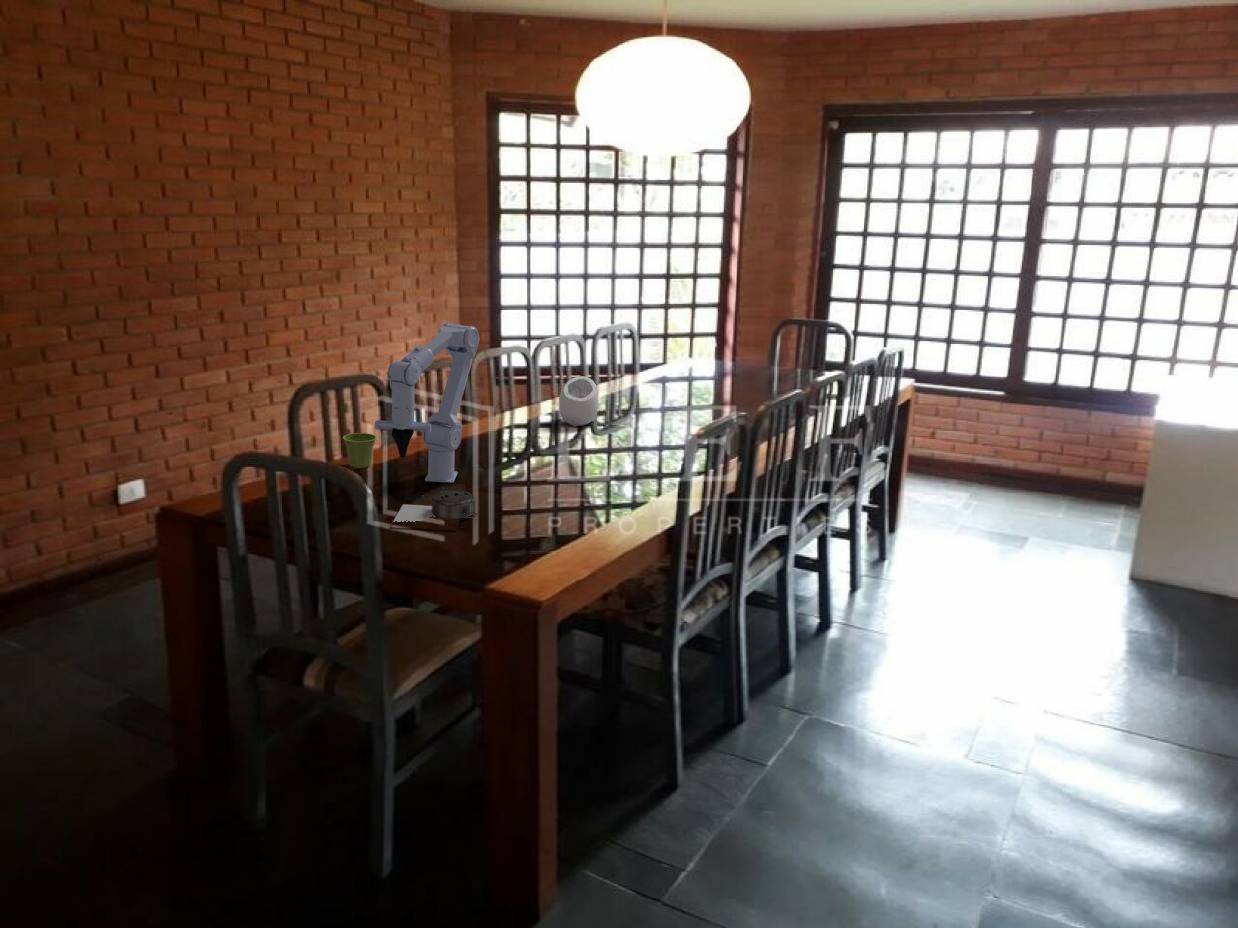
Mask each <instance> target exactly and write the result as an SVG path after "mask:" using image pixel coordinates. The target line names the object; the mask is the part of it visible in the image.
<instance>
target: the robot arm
mask: <svg viewBox="0 0 1238 928" xmlns="http://www.w3.org/2000/svg"><path fill="white" fill-rule="evenodd" d="M480 340H481V338H480V334H479V330H478V329H477V328H476V327H475V326H474V325H473V326H472V325H471V326H470V325H462V324H457V323H451V322H444V323H443V324H442V325H441V326H439V327H438V332H437V334H436V335H435V336H434V337H433V338H432V339H431V340H430V341H429V342H428V343H427V344H426V345H425V346H421V345H420V346H418V345H417V346H415V347H414V349H413V350H412V351H411V352H410V353H408V354H407V355H406V356H404V357H403V358H402V359H401V360H394V361H392V363H390V365H389V366H388V369H387V372H386V377H387V379H388V381H389V387H390V388H391V420H375V421H374V430H392V431H391V437H392V439H393V440H394V442H395V445H396V447H397V450H398V455H399V458H401V459H402V458H406V456H407V451H408V448H409V445H410V441H411V439H412V437H413V435H414V433H415V432H422V433H421V437H422V441H423V443H424V444H425V445H426V449H427V448H428V465H427V466H428V467H427V468H428V471H427V472H428V473H427V475H426V477H425V479H424V481H425V482H433V483H434V482H435V483H437V482H438V483H448V484H449V483H454V482H455V480H456V477H457V476H458V471H455V450H457V448H458V447H459V446H460V444H461V442H462V441H461V440H462V431H463V425H462V423H461V422H460V421H459V419H458V417H457V416H458V413H459V410H460V405H461V403H462V399H463V395H464V391H465V388H466V384H467V382H468V378H469V375H470V371H471V366H472V365H473V360H474V358H476V354H477V350H478V347H479V345H480V343H479V342H480ZM445 350H446V352H447V353H448V354H449V355H450V356H451V358H452V362H451V366H450V370H449V373H448V376H447V379H446V383H445V386H444V390H443V394H442V397H441V401H440V403H439V404H440V405H439V407H438V411H437V412H436V413H434V414H432V415H430V416H429V417H428V420H427V422H426V423H425V422H419V421H415V385H416V384H417V383H418V381H419V379H420V377H421V375H422V373H423V372H424V371H425V370H426V369H427V368H428V367H430V366H431V365H432V364H433V363H434V357H435V356H438V354H440V353H442V352H443V351H445Z"/></svg>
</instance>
